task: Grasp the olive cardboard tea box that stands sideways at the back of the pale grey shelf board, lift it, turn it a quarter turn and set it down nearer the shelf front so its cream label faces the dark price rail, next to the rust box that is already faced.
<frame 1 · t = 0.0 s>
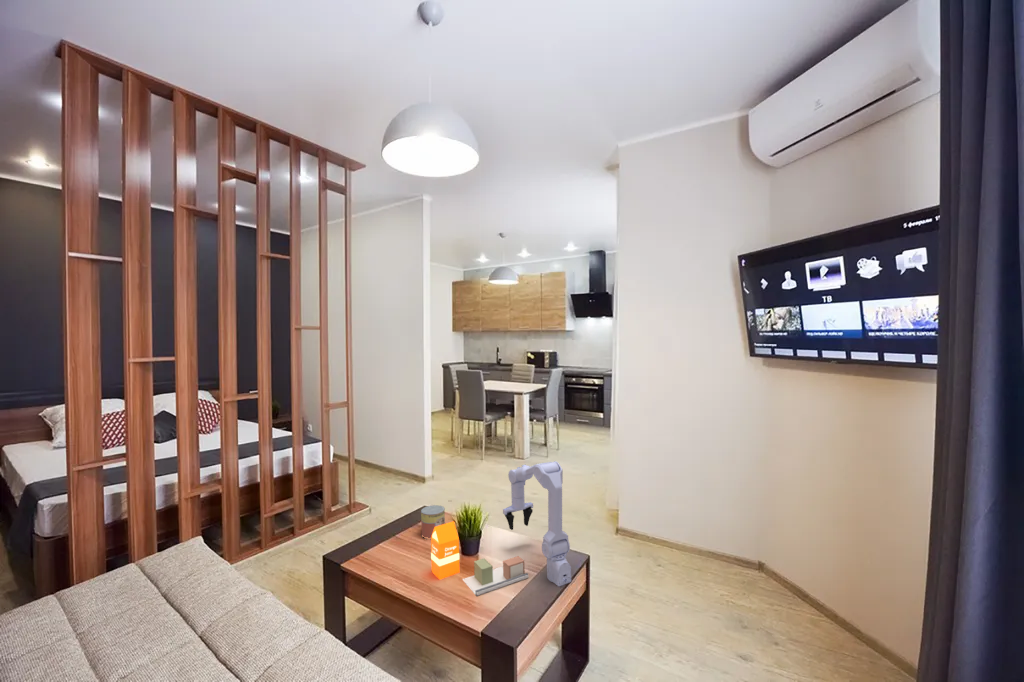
hand: (518, 527, 189), 10 cm above the table, fingers open, 7 cm apart
tea box olive: (483, 579, 164), point 1 cm above the table, touching shelf board
tea box rust: (514, 576, 166), point 1 cm above the table, touching shelf board
shelf board: (495, 580, 165), on the table
orange juice: (445, 574, 170), on the table
canned food: (433, 534, 206), on the table
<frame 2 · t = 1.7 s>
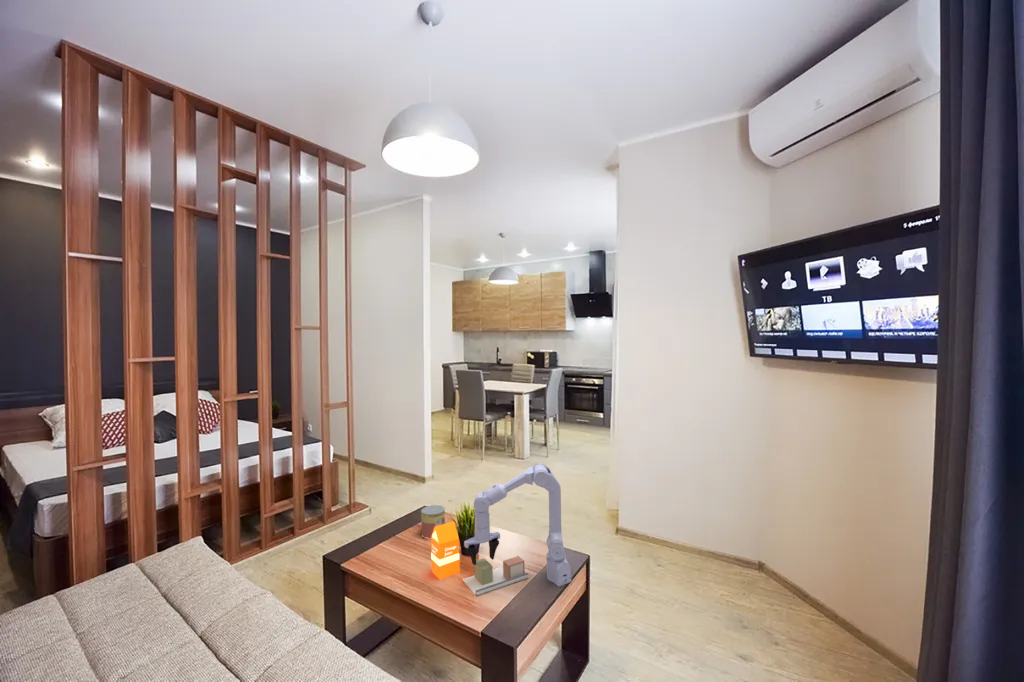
hand: (482, 561, 164), 8 cm above the table, fingers open, 7 cm apart
nothing on the table moved.
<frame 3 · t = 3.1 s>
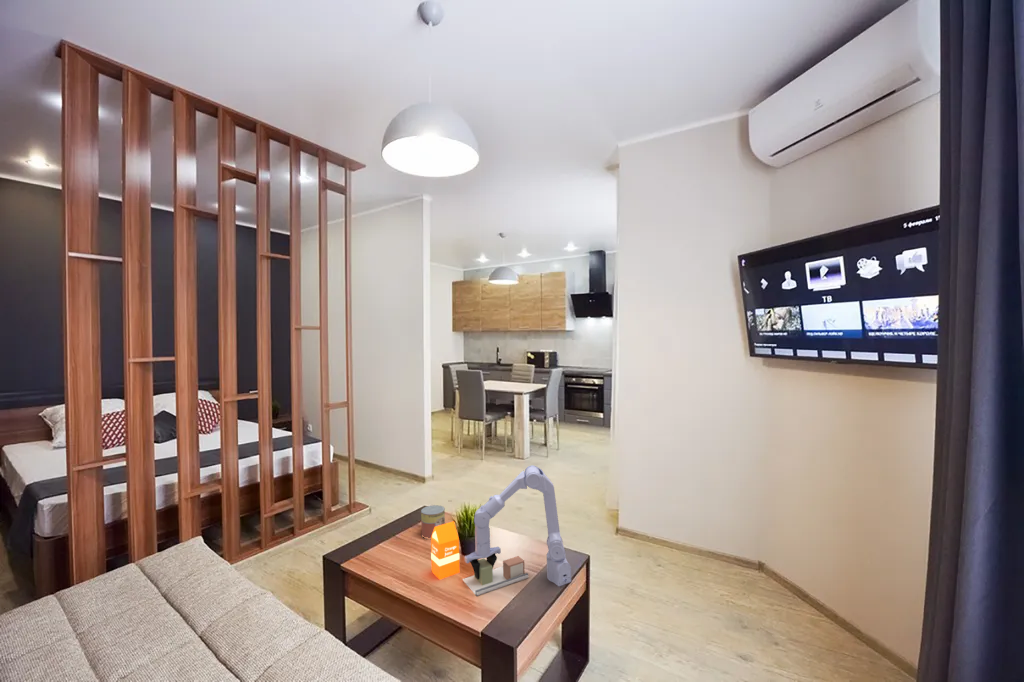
hand: (483, 576, 164), 2 cm above the table, fingers closed on tea box olive, 5 cm apart
tea box olive: (483, 579, 164), point 1 cm above the table, touching gripper
everything else where it was.
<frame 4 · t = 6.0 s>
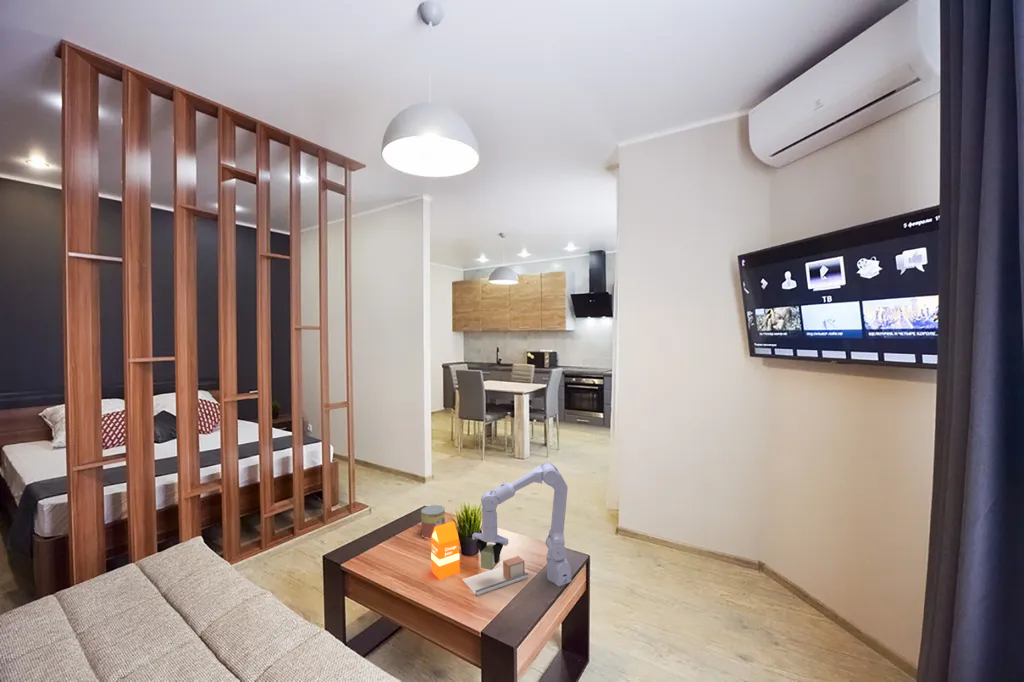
hand: (490, 560, 162), 9 cm above the table, fingers closed on tea box olive, 5 cm apart
tea box olive: (490, 564, 162), point 8 cm above the table, touching gripper
everything else where it was.
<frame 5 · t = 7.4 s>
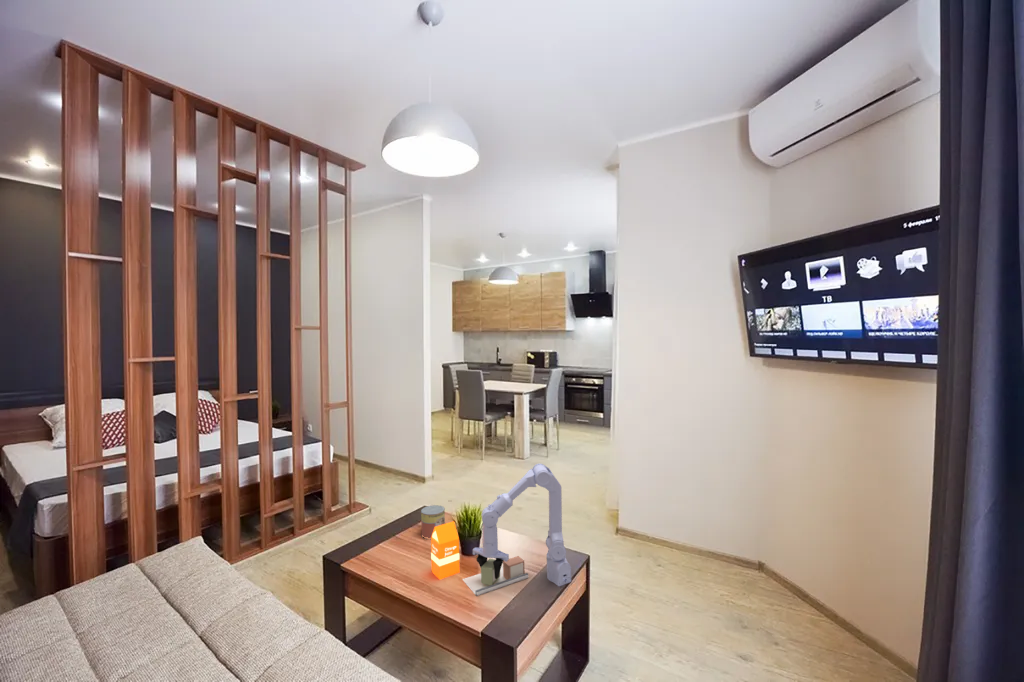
hand: (491, 576, 162), 3 cm above the table, fingers closed on tea box olive, 5 cm apart
tea box olive: (490, 579, 162), point 2 cm above the table, touching gripper
everything else where it was.
when the fingers open (3 cm above the table, at t = 8.7 s): tea box olive stays where it is, resting on shelf board.
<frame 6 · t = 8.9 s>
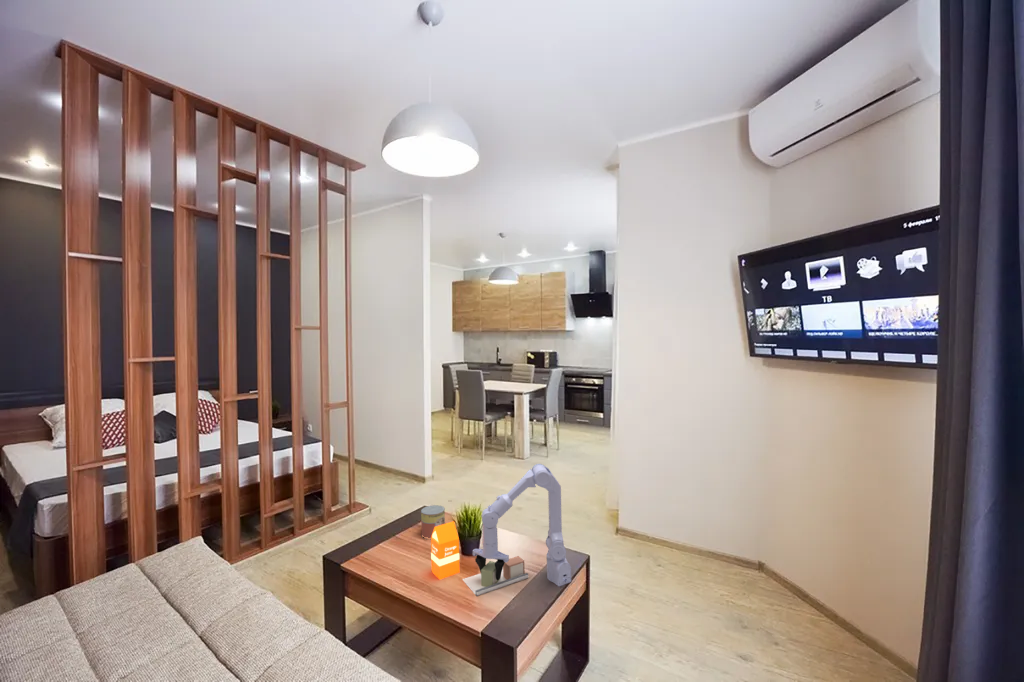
hand: (491, 577, 162), 3 cm above the table, fingers open, 6 cm apart
tea box olive: (491, 582, 162), point 1 cm above the table, touching shelf board
everything else where it was.
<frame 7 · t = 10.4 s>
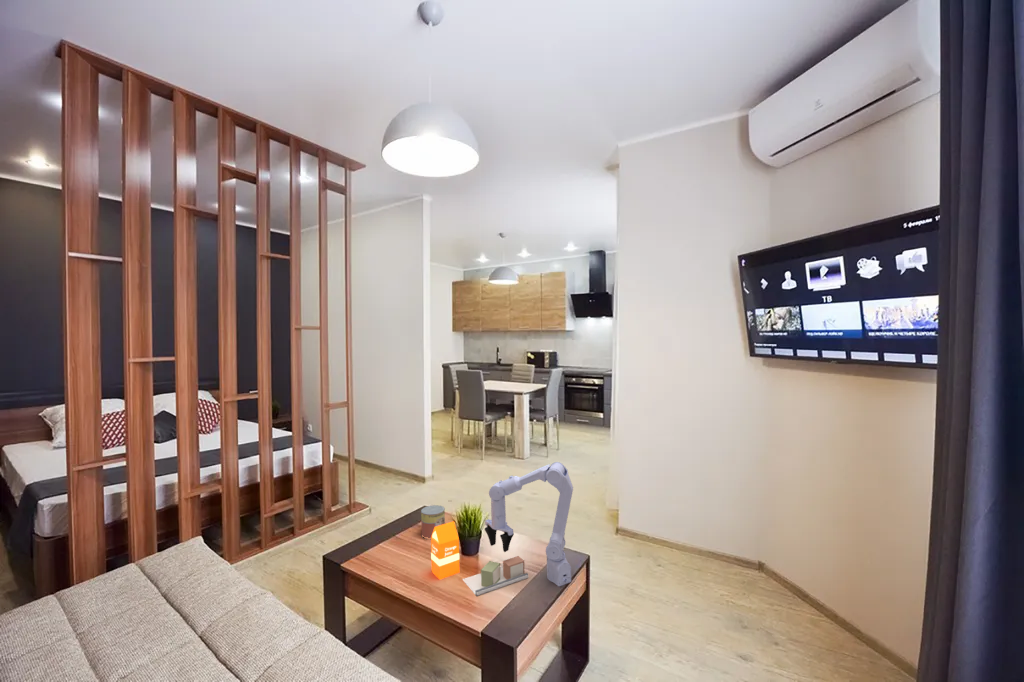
hand: (499, 547, 171), 10 cm above the table, fingers open, 7 cm apart
nothing on the table moved.
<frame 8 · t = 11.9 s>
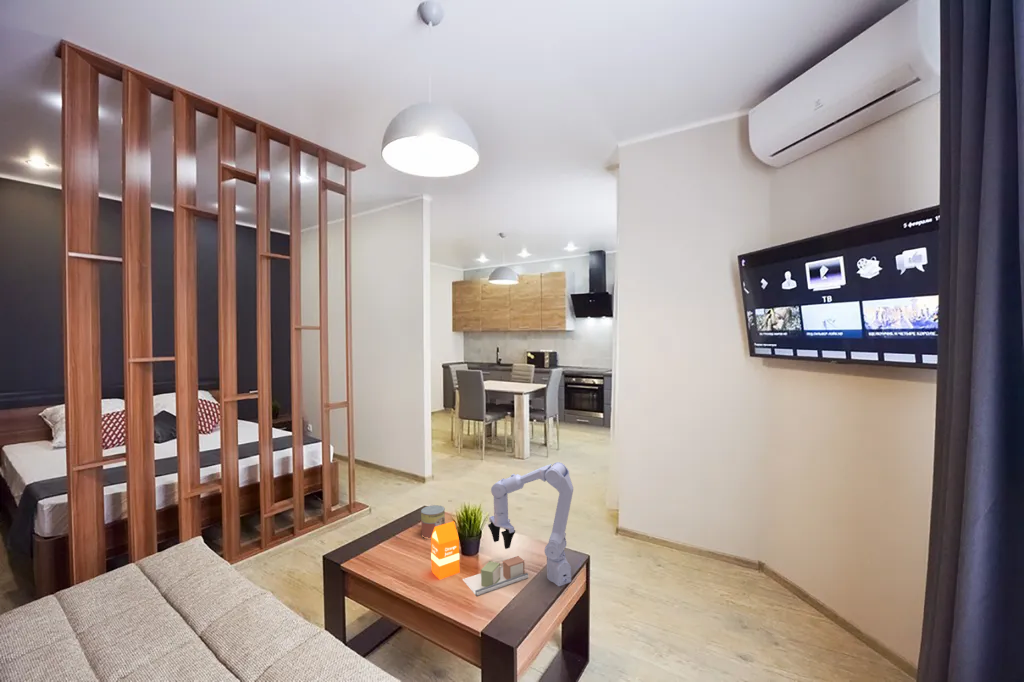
hand: (501, 544, 173), 10 cm above the table, fingers open, 7 cm apart
nothing on the table moved.
at the end: tea box olive 0.1 cm from the target spot, point 0.8 cm above the table; tea box olive tilted 0°; the gripper is holding nothing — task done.
